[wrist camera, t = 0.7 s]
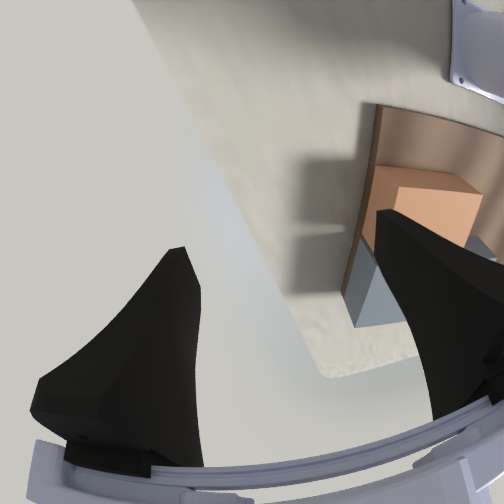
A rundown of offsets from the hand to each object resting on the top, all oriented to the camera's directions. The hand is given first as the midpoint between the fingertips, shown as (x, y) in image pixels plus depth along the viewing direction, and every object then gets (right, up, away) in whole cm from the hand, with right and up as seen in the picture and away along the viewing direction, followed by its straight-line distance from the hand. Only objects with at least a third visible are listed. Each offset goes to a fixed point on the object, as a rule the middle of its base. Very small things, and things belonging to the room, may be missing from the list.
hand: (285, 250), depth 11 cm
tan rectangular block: (+11, +4, +10) cm, 15 cm away
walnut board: (+21, +4, +12) cm, 24 cm away
